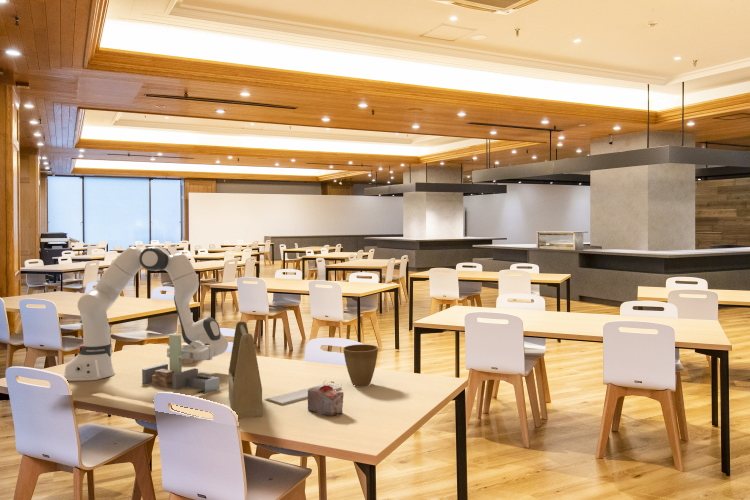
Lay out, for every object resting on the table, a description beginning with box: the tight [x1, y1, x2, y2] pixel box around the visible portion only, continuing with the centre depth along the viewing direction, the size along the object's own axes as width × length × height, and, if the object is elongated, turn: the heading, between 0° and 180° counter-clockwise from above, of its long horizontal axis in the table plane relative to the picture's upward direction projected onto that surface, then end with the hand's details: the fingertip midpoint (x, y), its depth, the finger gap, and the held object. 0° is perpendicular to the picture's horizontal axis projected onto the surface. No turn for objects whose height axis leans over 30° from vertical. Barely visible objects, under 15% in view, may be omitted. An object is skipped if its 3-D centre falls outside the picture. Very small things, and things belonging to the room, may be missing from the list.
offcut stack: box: [151, 369, 174, 389], centre depth 250 cm, size 9×5×6 cm, turn 61°
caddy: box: [228, 320, 263, 419], centre depth 225 cm, size 29×11×30 cm, turn 17°
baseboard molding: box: [264, 380, 342, 406], centre depth 242 cm, size 31×3×12 cm
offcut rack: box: [141, 363, 199, 390], centre depth 253 cm, size 20×12×8 cm, turn 61°
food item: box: [307, 385, 344, 417], centre depth 218 cm, size 14×8×10 cm, turn 53°
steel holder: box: [186, 374, 220, 395], centre depth 248 cm, size 10×8×5 cm
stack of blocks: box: [181, 340, 195, 364], centre depth 307 cm, size 21×6×12 cm, turn 6°
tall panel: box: [168, 333, 183, 374], centre depth 255 cm, size 6×2×20 cm, turn 61°
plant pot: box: [342, 344, 379, 387], centre depth 256 cm, size 15×15×16 cm
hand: (173, 356), depth 254 cm, fingers closed on tall panel, 5 cm apart
